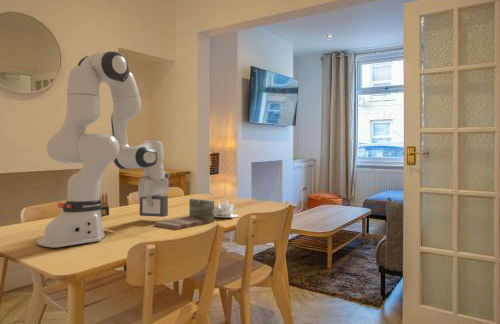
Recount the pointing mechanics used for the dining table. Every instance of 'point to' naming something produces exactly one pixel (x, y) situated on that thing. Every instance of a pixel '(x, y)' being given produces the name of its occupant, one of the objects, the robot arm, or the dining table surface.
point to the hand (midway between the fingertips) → (153, 205)
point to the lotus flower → (224, 210)
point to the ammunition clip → (104, 205)
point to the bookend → (192, 216)
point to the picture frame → (154, 206)
